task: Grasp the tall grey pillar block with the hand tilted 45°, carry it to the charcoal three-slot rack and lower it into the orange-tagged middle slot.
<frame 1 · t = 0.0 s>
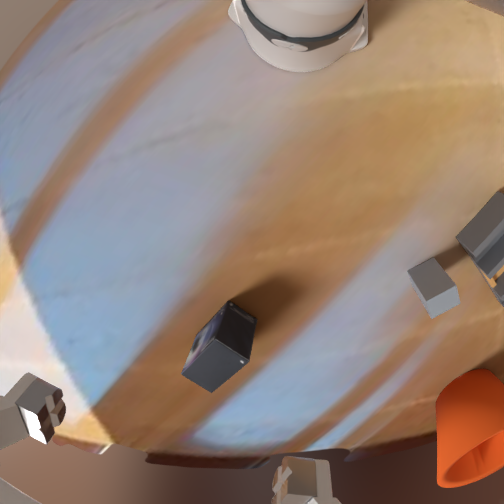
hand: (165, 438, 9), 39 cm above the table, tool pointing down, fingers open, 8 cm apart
rack: (500, 250, 44), on the table
flowerpot: (465, 392, 59), on the table
small box: (225, 326, 56), on the table
tall grey pillar block: (423, 272, 48), on the table
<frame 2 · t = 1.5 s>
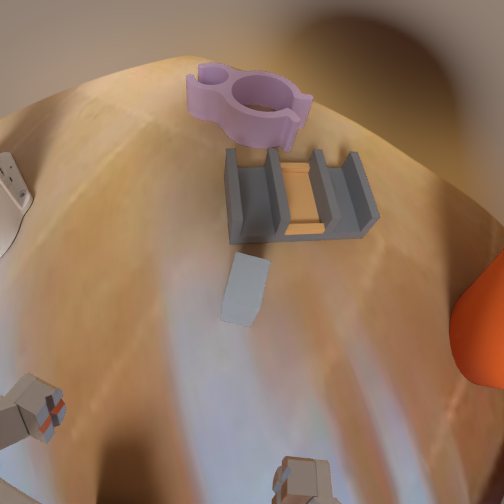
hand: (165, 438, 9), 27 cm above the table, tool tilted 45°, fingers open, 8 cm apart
clip: (243, 118, 53), on the table
rack: (293, 206, 46), on the table
flowerpot: (482, 336, 41), on the table
tall grey pillar block: (240, 304, 39), on the table
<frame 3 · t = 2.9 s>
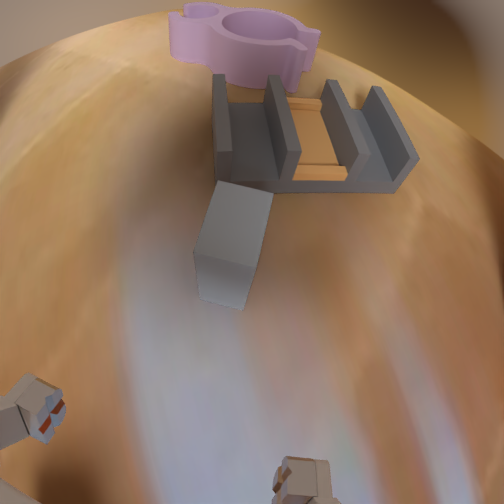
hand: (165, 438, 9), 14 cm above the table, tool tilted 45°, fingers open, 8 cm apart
clip: (236, 61, 41), on the table
rack: (302, 150, 33), on the table
tall grey pillar block: (229, 276, 27), on the table
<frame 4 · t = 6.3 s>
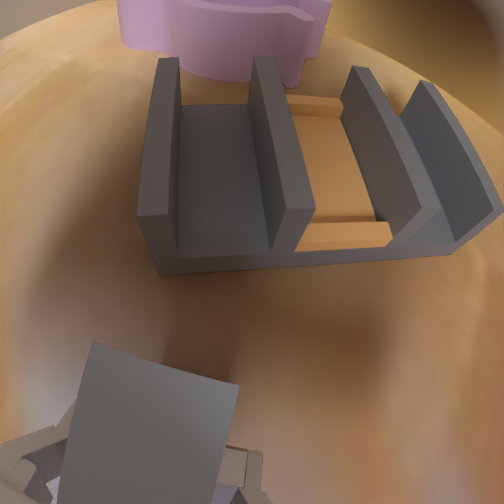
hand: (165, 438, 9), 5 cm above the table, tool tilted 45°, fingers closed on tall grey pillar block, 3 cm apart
clip: (211, 45, 28), on the table
rack: (311, 184, 20), on the table
tall grey pillar block: (180, 428, 14), on the table, touching gripper
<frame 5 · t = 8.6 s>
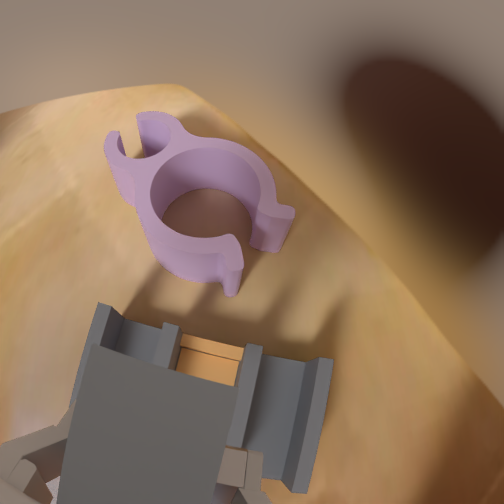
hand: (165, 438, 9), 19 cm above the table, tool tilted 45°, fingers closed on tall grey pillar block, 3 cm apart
clip: (189, 212, 35), on the table
rack: (199, 403, 27), on the table
tall grey pillar block: (179, 429, 14), point 14 cm above the table, touching gripper
when the fingers open (8 cm above the table, at t = 10.9 s): tall grey pillar block drops 1 cm, resting on rack.
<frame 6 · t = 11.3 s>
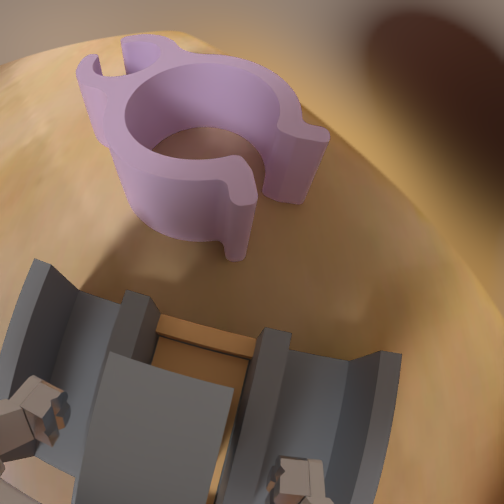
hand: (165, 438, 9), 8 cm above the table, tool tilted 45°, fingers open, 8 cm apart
clip: (181, 154, 25), on the table
rack: (187, 422, 17), on the table
tall grey pillar block: (182, 426, 15), point 2 cm above the table, touching rack
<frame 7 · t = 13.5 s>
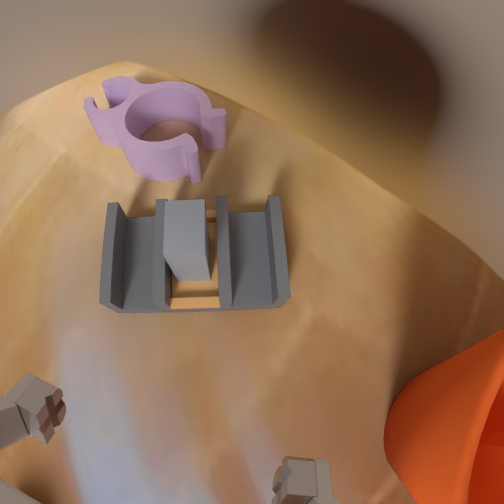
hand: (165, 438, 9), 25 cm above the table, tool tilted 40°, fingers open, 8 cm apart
clip: (154, 140, 44), on the table
rack: (196, 264, 38), on the table
flowerpot: (434, 424, 33), on the table
tall grey pillar block: (194, 259, 36), point 2 cm above the table, touching rack
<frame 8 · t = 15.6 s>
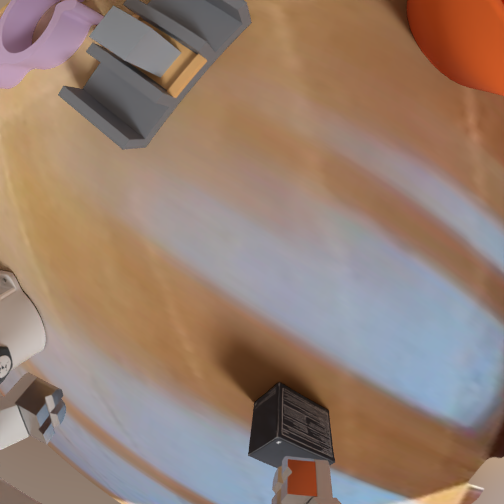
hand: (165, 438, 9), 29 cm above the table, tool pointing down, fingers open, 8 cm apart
clip: (44, 39, 31), on the table
rack: (161, 57, 31), on the table
flowerpot: (461, 30, 26), on the table
small box: (291, 406, 46), on the table
tall grey pillar block: (154, 54, 29), point 2 cm above the table, touching rack
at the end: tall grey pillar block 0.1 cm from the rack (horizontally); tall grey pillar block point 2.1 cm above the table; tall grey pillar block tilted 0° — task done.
